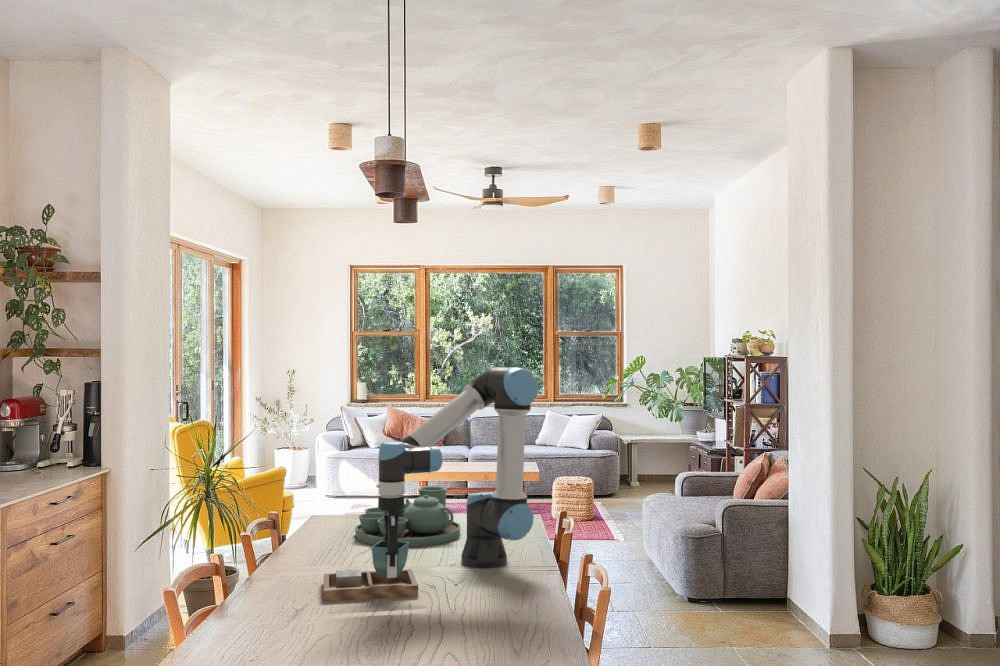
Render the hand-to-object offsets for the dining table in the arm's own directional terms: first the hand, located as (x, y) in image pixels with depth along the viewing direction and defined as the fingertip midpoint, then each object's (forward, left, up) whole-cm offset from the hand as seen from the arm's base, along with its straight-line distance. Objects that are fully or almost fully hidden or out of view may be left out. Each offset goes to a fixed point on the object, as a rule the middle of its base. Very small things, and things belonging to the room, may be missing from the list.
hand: (390, 572), depth 240 cm
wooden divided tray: (+6, 0, -6) cm, 8 cm away
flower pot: (0, 0, -1) cm, 1 cm away
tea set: (-12, -73, -6) cm, 74 cm away
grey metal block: (+12, 0, -5) cm, 13 cm away
